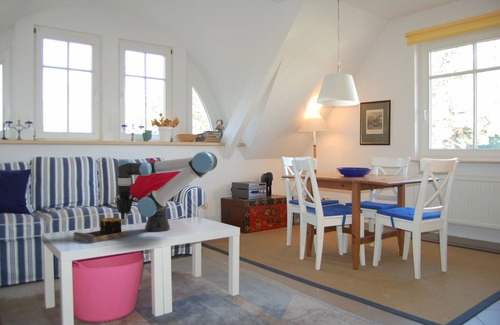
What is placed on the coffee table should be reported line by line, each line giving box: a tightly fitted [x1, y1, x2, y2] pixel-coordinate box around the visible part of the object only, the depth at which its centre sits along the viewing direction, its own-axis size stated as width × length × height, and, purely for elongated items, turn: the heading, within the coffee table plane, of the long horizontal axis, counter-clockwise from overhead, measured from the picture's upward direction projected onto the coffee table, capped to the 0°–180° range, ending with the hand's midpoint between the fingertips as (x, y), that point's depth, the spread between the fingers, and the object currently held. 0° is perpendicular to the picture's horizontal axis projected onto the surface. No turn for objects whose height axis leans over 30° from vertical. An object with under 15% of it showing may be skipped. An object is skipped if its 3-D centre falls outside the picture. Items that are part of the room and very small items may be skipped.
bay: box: [73, 230, 128, 244], centre depth 224 cm, size 23×16×4 cm
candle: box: [99, 216, 123, 236], centre depth 229 cm, size 10×10×10 cm
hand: (124, 224), depth 238 cm, fingers closed
